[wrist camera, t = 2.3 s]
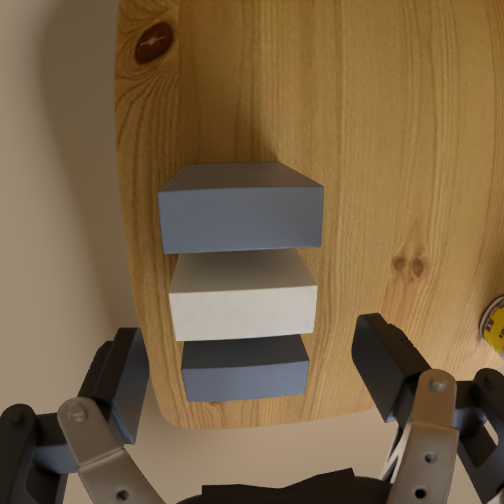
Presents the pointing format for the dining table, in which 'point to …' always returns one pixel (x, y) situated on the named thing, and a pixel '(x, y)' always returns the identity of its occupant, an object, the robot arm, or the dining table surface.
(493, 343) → the supplement bottle
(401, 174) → the dining table surface
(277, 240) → the grey books
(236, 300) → the cream book
